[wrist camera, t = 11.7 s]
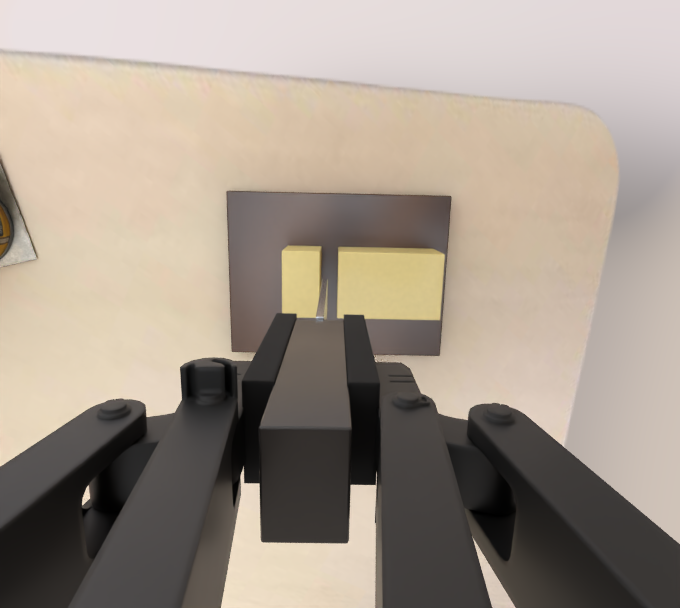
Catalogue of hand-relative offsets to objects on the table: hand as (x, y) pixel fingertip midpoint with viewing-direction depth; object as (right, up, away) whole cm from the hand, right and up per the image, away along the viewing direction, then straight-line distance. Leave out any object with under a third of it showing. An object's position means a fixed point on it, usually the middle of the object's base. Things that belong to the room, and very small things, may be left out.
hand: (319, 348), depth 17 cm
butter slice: (-2, +4, +16) cm, 17 cm away
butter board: (+1, +4, +17) cm, 18 cm away
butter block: (+4, +4, +16) cm, 17 cm away
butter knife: (0, +2, +7) cm, 7 cm away
